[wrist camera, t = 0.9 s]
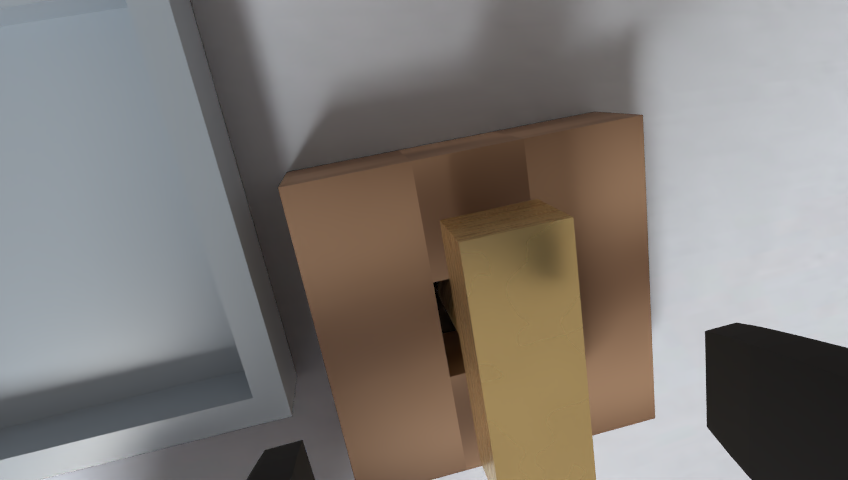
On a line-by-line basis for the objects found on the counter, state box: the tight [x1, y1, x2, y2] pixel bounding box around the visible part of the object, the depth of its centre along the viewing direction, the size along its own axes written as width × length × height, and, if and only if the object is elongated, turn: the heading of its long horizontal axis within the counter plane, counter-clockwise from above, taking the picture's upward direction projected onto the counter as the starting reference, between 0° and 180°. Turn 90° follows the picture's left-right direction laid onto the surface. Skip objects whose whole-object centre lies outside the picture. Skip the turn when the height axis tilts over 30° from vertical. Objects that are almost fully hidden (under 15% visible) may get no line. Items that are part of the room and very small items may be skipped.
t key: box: [438, 199, 596, 480], centre depth 16 cm, size 8×3×7 cm, turn 10°
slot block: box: [278, 112, 655, 480], centre depth 18 cm, size 11×11×3 cm
